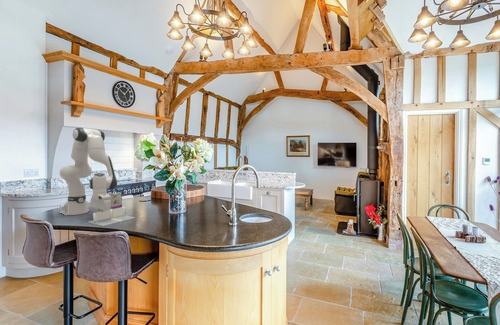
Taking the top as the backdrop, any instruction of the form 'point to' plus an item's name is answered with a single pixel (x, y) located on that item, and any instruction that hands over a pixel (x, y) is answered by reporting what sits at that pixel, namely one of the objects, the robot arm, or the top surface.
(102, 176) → the robot arm
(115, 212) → the fixed fence
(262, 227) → the top surface
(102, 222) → the mat
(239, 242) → the top surface
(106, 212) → the panel
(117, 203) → the candy bar box
